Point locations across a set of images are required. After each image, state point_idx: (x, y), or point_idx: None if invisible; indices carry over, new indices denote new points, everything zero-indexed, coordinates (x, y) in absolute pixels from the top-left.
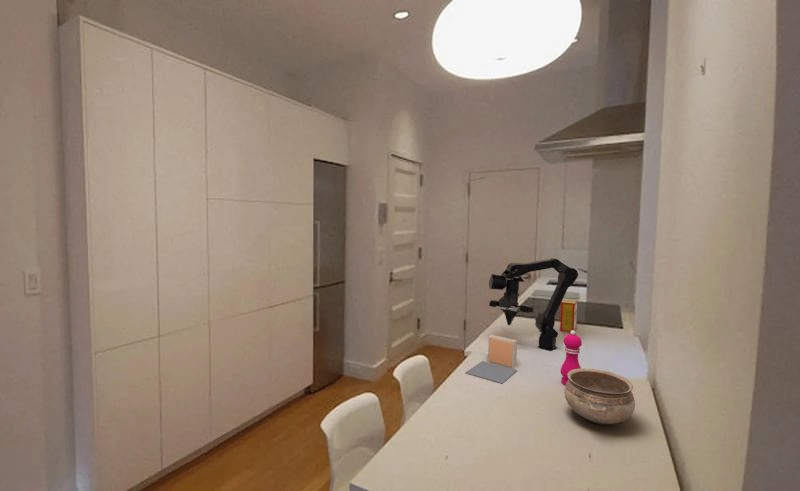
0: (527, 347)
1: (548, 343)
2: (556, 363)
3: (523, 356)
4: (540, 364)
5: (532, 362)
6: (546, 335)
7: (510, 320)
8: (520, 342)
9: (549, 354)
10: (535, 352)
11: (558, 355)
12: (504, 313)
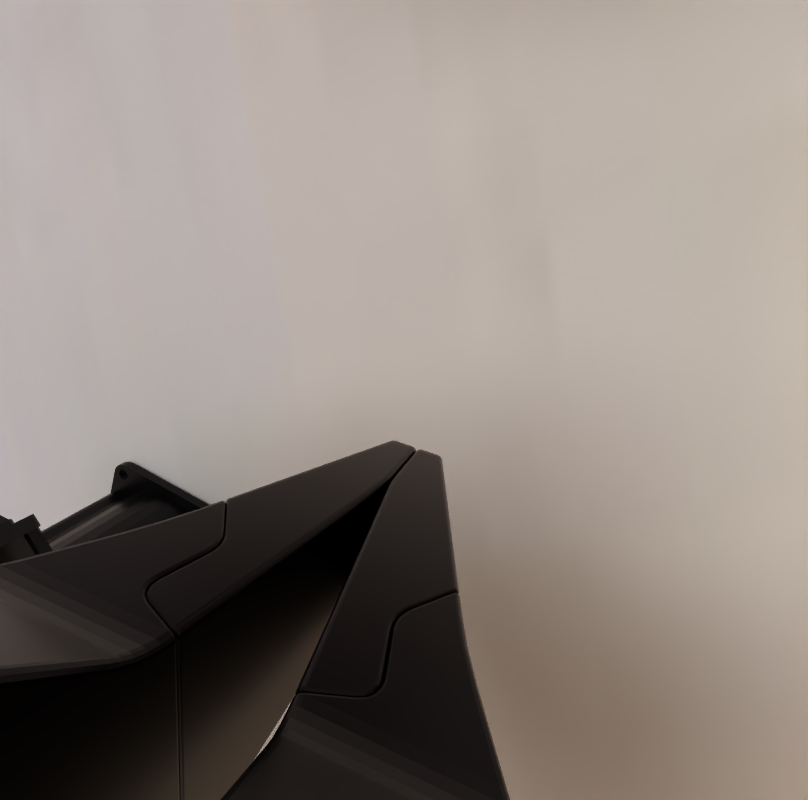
0: None
1: (102, 516)
2: (15, 142)
3: (303, 180)
4: (109, 12)
5: (185, 26)
6: (14, 524)
7: (301, 482)
8: None
9: (116, 368)
10: (226, 372)
11: (57, 374)
12: (506, 793)
